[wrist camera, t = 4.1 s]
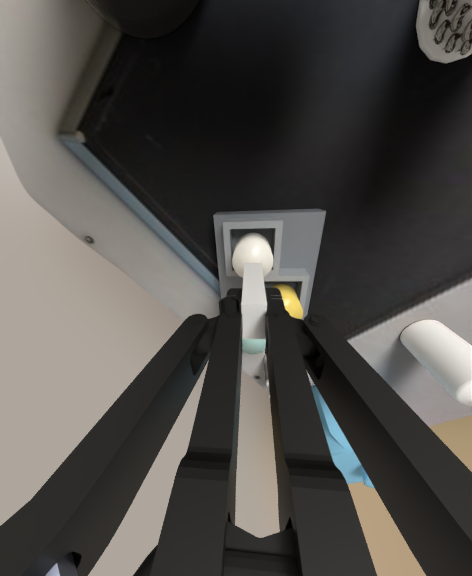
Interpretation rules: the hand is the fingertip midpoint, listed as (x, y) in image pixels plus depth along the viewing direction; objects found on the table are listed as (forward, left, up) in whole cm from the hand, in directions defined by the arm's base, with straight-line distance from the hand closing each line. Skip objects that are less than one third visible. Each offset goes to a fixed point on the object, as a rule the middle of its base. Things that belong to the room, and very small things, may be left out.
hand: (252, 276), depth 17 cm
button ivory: (0, 0, -7) cm, 7 cm away
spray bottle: (+18, +31, -13) cm, 38 cm away
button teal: (+14, 0, -9) cm, 17 cm away
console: (+7, +2, -13) cm, 14 cm away
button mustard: (+7, +4, -7) cm, 11 cm away
